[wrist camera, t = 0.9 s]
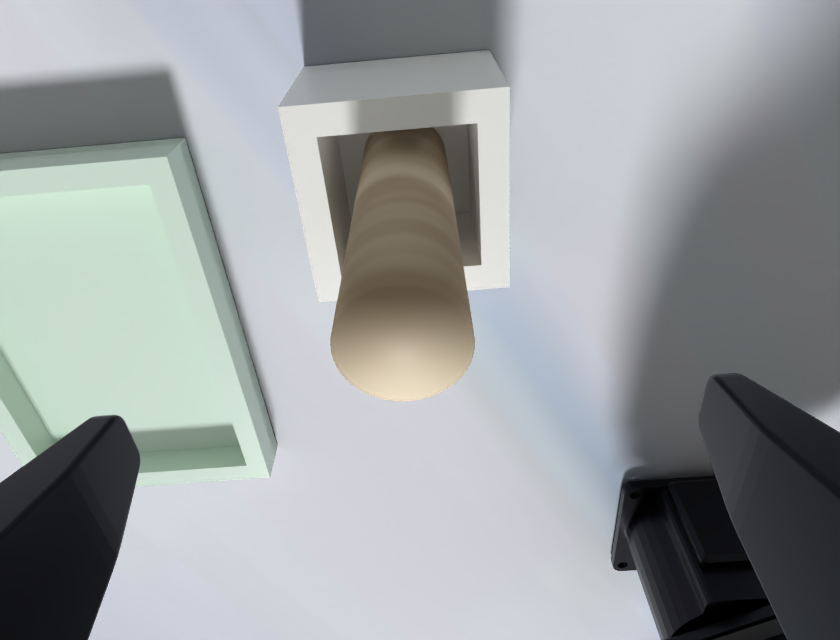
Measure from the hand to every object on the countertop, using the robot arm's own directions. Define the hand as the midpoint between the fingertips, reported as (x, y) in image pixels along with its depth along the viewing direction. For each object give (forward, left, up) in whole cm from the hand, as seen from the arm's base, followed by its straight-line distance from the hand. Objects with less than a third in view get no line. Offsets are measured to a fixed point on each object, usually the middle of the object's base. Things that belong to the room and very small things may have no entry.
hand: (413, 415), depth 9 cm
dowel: (0, 0, -12) cm, 12 cm away
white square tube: (0, 0, -13) cm, 13 cm away
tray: (-6, +12, -13) cm, 19 cm away
